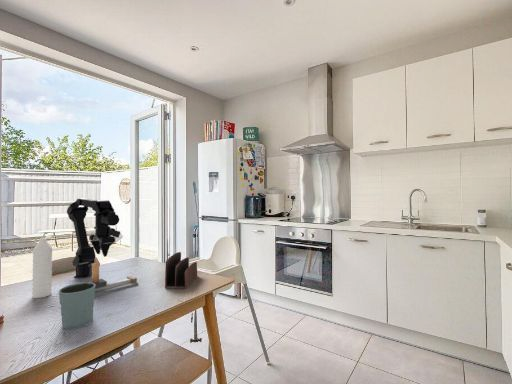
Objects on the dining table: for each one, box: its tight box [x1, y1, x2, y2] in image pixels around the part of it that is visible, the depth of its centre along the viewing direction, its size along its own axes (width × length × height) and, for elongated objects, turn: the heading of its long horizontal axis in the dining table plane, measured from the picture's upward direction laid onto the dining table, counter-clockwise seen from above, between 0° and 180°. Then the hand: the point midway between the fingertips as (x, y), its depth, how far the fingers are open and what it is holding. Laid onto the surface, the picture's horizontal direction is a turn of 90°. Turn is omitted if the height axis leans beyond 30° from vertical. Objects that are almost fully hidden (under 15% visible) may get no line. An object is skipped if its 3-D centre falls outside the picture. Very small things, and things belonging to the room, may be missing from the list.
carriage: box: [84, 262, 108, 289], centre depth 115 cm, size 7×6×10 cm
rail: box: [94, 275, 139, 298], centre depth 118 cm, size 26×9×3 cm, turn 140°
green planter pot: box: [58, 281, 95, 330], centre depth 87 cm, size 10×10×12 cm
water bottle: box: [31, 235, 53, 299], centre depth 113 cm, size 9×6×25 cm
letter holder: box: [164, 251, 198, 290], centre depth 129 cm, size 10×20×14 cm, turn 177°
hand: (101, 255), depth 132 cm, fingers open, 9 cm apart
